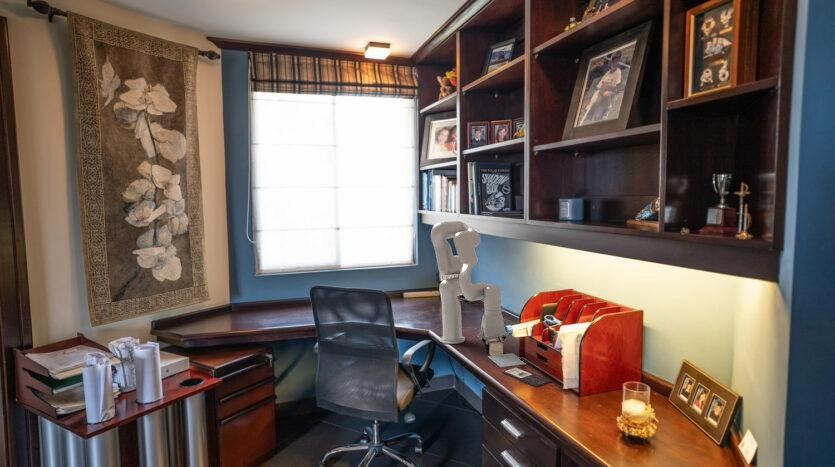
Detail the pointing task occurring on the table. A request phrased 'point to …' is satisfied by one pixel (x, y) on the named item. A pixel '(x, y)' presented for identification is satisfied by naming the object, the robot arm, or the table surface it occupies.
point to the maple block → (495, 347)
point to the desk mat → (506, 360)
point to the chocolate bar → (527, 377)
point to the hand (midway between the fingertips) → (493, 350)
